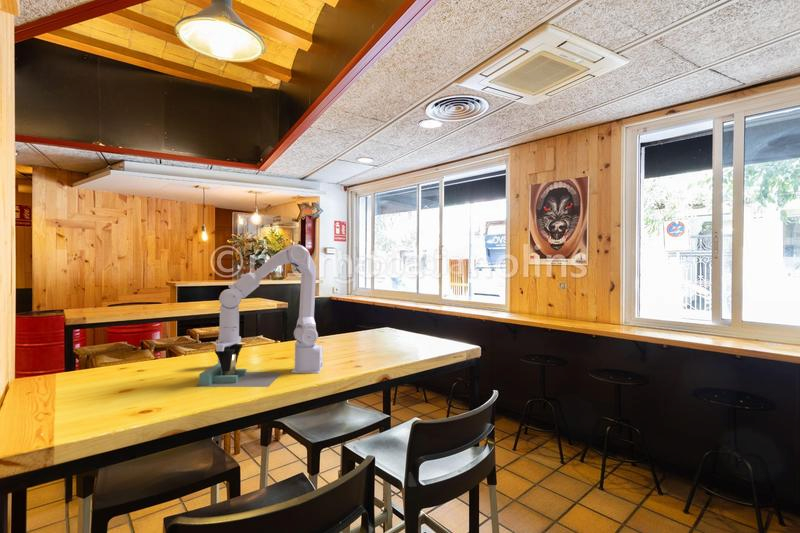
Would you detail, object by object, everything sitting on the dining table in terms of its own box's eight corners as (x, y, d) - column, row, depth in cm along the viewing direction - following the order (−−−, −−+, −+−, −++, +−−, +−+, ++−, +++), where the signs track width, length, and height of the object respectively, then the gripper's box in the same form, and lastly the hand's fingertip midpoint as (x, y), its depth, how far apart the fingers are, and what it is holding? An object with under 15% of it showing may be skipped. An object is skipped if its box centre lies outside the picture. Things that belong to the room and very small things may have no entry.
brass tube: (237, 374, 126) (237, 352, 126) (232, 377, 122) (232, 355, 122) (225, 374, 126) (225, 352, 126) (219, 377, 122) (220, 355, 122)
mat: (282, 372, 132) (282, 372, 132) (268, 387, 116) (268, 386, 116) (217, 372, 132) (217, 372, 132) (194, 387, 116) (194, 386, 116)
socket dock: (249, 372, 131) (249, 362, 131) (232, 385, 117) (232, 374, 117) (219, 372, 131) (219, 362, 131) (199, 385, 117) (199, 373, 117)
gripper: (226, 323, 131) (225, 363, 131) (206, 330, 116) (205, 375, 116) (247, 323, 131) (246, 363, 131) (229, 330, 117) (229, 375, 117)
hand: (228, 369), depth 124 cm, fingers closed on brass tube, 4 cm apart
